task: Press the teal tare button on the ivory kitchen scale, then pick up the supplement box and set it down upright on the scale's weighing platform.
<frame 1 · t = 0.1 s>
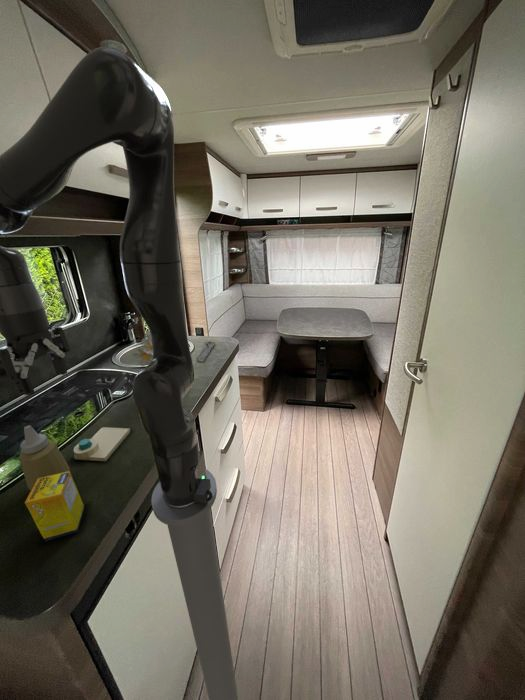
hand: (46, 383, 59), 27 cm above the worktop, tool pointing down, fingers open, 8 cm apart
flower vase: (168, 396, 103), on the worktop
squeeze bottle: (54, 488, 66), on the worktop
supplement box: (66, 524, 58), on the worktop
scale: (104, 444, 80), on the worktop
tare button: (85, 444, 75), point 3 cm above the worktop, slide at 0.1 cm
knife: (205, 351, 141), on the worktop
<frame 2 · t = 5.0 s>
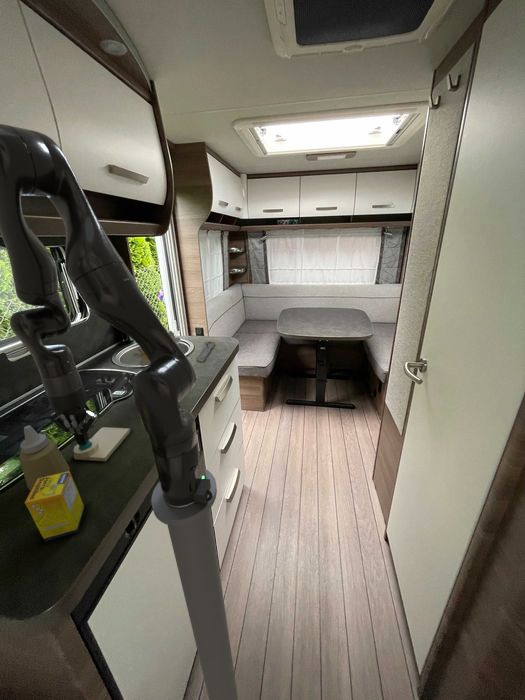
hand: (83, 443, 75), 4 cm above the worktop, tool pointing down, fingers closed
tare button: (85, 445, 75), point 3 cm above the worktop, slide at -0.3 cm, touching gripper
everything else where it was.
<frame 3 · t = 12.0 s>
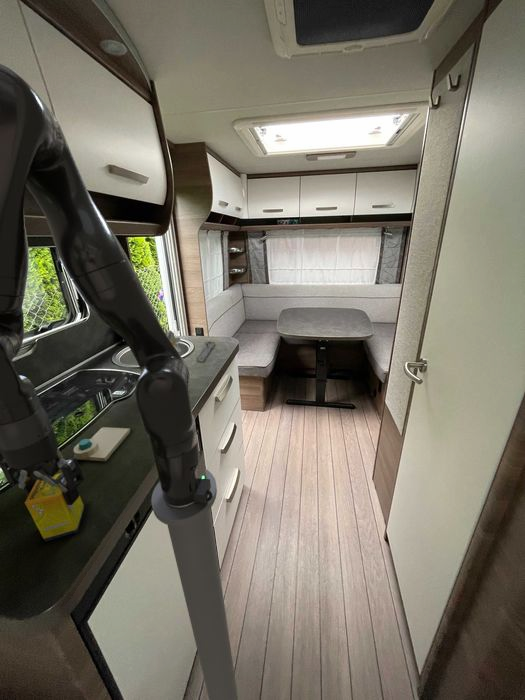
hand: (55, 499, 55), 7 cm above the worktop, tool pointing down, fingers closed on supplement box, 7 cm apart
supplement box: (66, 524, 58), on the worktop, touching gripper
tare button: (85, 444, 75), point 3 cm above the worktop, slide at 0.1 cm
everything else where it was.
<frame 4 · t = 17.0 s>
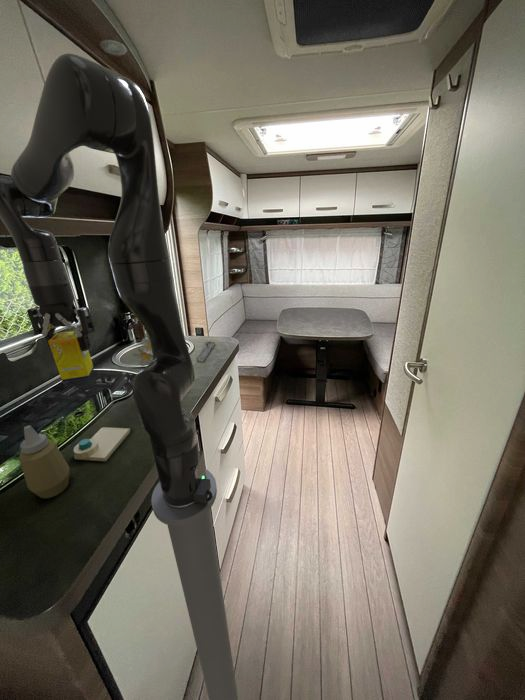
hand: (70, 349, 68), 30 cm above the worktop, tool pointing down, fingers closed on supplement box, 7 cm apart
supplement box: (79, 376, 71), point 22 cm above the worktop, touching gripper
everything else where it was.
when the fingers open (10 cm above the worktop, at t = 22.1 s): supplement box stays where it is, resting on scale.
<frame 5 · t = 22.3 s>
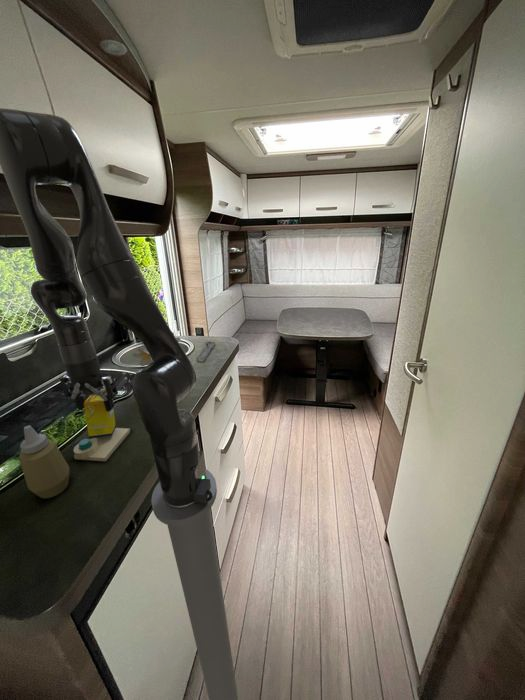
hand: (96, 409, 78), 10 cm above the worktop, tool pointing down, fingers open, 8 cm apart
supplement box: (102, 433, 81), point 2 cm above the worktop, touching gripper, scale
everything else where it was.
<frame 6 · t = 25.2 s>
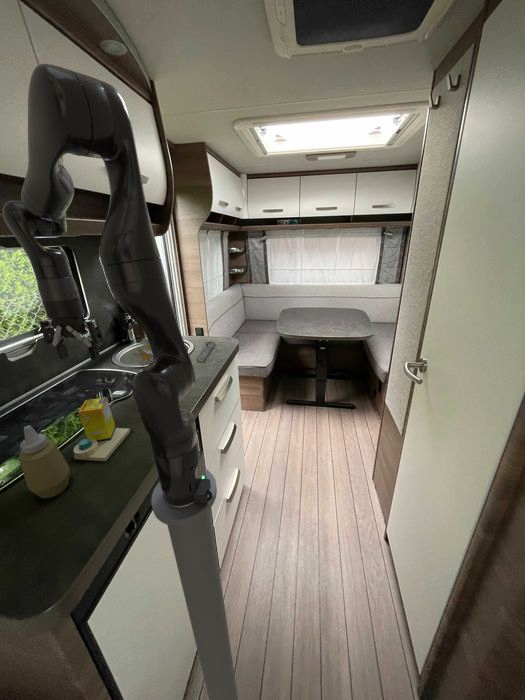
hand: (80, 358, 72), 26 cm above the worktop, tool pointing down, fingers open, 8 cm apart
supplement box: (103, 435, 82), point 1 cm above the worktop, touching scale
everything else where it was.
at the end: tare button pushed in 1.2 cm at the most during the clip, back to where it started at the end; supplement box 0.3 cm from the target spot on the scale, point 1.0 cm above the scale's base; supplement box tilted 0° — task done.
